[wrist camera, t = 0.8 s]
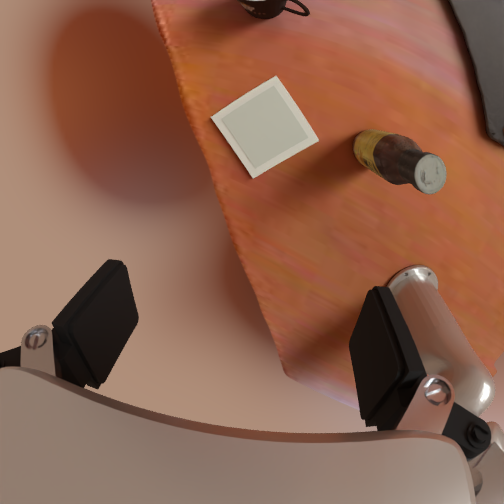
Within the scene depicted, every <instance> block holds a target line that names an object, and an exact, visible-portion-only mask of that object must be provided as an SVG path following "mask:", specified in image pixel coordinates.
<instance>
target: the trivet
mask: <svg viewBox="0 0 504 504" xmlns="http://www.w3.org/2000/svg"><path fill="white" fill-rule="evenodd" d="M211 118H212V120H213V121H214V123H215V124H216V125H217V127H218V128H219V130H220V131H221V133H222V134H223V135H224V137H225V138H226V140H227V141H228V143H229V144H230V145H231V147H232V148H233V150H234V151H235V153H236V154H237V156H238V157H239V158H240V160H241V161H242V163H243V164H244V166H245V167H246V169H247V170H248V172H249V173H250V175H251V176H252V178H255V177H257V176H258V175H260V174H262V173H263V172H265V171H267V170H268V169H270V168H272V167H274V166H275V165H277V164H279V163H280V162H282V161H284V160H286V159H287V158H289V157H291V156H293V155H294V154H296V153H298V152H300V151H301V150H303V149H305V148H307V147H309V146H310V145H312V144H314V143H316V142H318V141H319V140H318V138H317V136H316V135H315V133H314V131H313V130H312V128H311V126H310V125H309V123H308V122H307V120H306V119H305V117H304V115H303V114H302V112H301V111H300V109H299V108H298V106H297V105H296V103H295V102H294V100H293V99H292V97H291V96H290V94H289V93H288V92H287V90H286V89H285V87H284V86H283V84H282V83H281V82H280V80H279V79H278V77H277V76H275V77H273V78H271V79H270V80H268V81H266V82H264V83H263V84H261V85H259V86H258V87H256V88H254V89H253V90H251V91H250V92H248V93H246V94H245V95H243V96H242V97H240V98H239V99H237V100H235V101H234V102H232V103H231V104H229V105H228V106H226V107H225V108H223V109H222V110H220V111H219V112H218V113H216V114H215V115H213V116H212V117H211Z"/></svg>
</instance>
